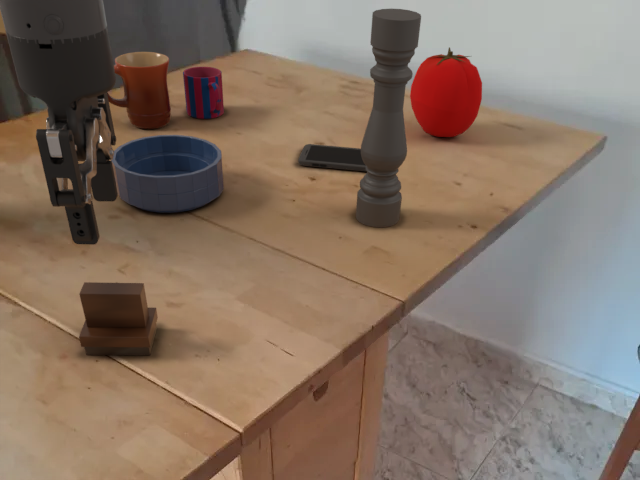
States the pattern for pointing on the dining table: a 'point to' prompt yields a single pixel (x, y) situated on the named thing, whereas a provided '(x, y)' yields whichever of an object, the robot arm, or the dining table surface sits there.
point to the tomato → (446, 94)
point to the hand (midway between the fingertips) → (97, 220)
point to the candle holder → (387, 116)
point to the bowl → (168, 173)
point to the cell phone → (332, 157)
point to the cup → (203, 92)
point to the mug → (144, 88)
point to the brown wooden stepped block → (117, 319)
